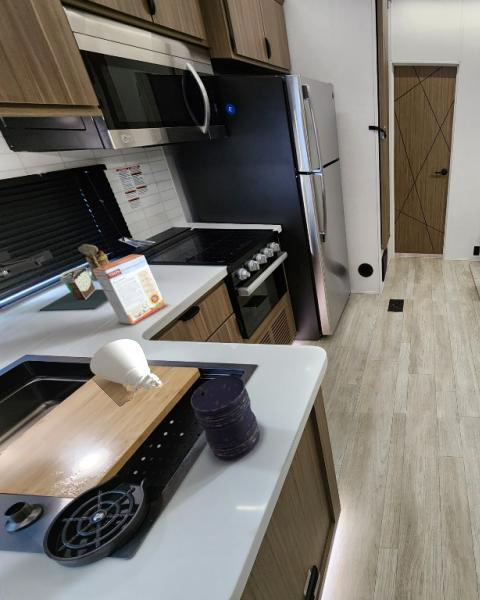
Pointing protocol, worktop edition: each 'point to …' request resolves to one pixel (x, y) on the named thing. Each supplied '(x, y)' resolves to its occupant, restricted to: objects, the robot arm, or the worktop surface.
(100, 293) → the side mat
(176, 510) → the worktop surface
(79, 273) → the food container
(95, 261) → the tan yellow lumpy piece
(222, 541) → the worktop surface
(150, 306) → the cracker box
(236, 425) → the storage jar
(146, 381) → the rocket engine
